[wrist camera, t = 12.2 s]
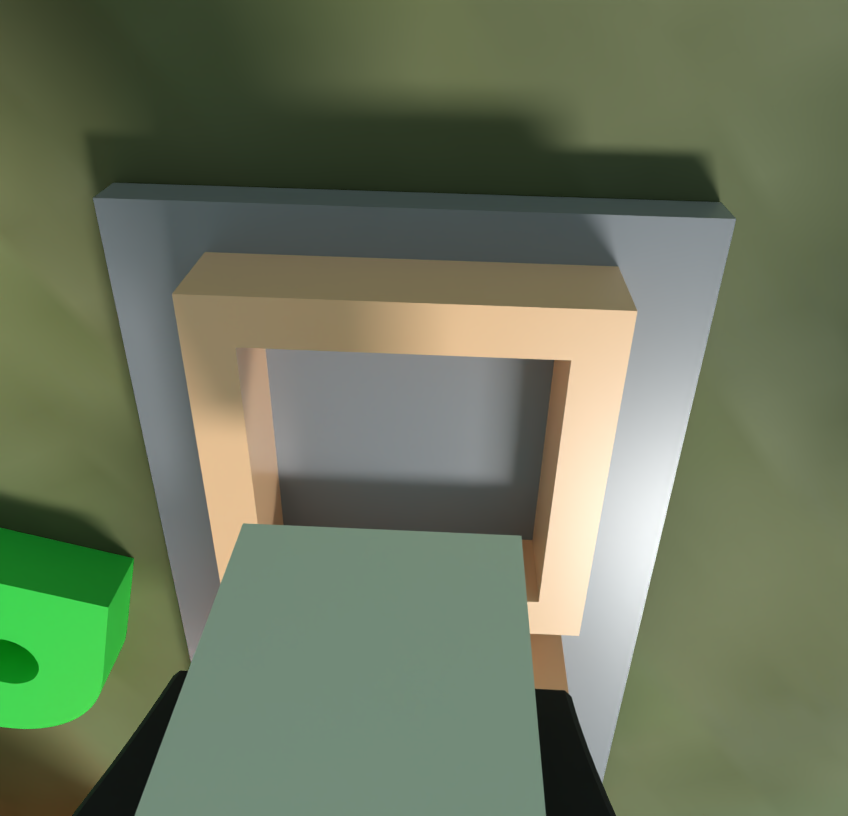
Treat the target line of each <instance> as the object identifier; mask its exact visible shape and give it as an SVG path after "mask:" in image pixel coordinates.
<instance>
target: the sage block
mask: <svg viewBox="0 0 848 816" xmlns="http://www.w3.org/2000/svg"><path fill="white" fill-rule="evenodd" d="M135 816H546V811H545V800H544V788H543V777H542V765H541V754H540V743H539V731H538V720H537V708H536V697H535V685H534V674H533V663H532V651H531V640H530V628H529V617H528V605H527V594H526V583H525V571H524V560H523V548H522V537H521V536H517V535H495V534H472V533H450V532H427V531H404V530H382V529H359V528H337V527H314V526H291V525H269V524H246V523H243V525H242V527H241V530H240V533H239V535H238V538H237V541H236V543H235V546H234V549H233V552H232V554H231V557H230V560H229V562H228V565H227V568H226V570H225V573H224V576H223V579H222V581H221V584H220V587H219V589H218V592H217V595H216V597H215V600H214V603H213V605H212V608H211V611H210V614H209V616H208V619H207V622H206V624H205V627H204V630H203V632H202V635H201V638H200V641H199V643H198V646H197V649H196V651H195V654H194V657H193V659H192V662H191V665H190V668H189V670H188V673H187V676H186V678H185V681H184V684H183V686H182V689H181V692H180V694H179V697H178V700H177V703H176V705H175V708H174V711H173V713H172V716H171V719H170V721H169V724H168V727H167V730H166V732H165V735H164V738H163V740H162V743H161V746H160V748H159V751H158V754H157V757H156V759H155V762H154V765H153V767H152V770H151V773H150V775H149V778H148V781H147V783H146V786H145V789H144V792H143V794H142V797H141V800H140V802H139V805H138V808H137V810H136V813H135Z"/></svg>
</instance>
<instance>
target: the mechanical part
mask: <svg viewBox="0 0 848 816" xmlns="http://www.w3.org/2000/svg"><path fill="white" fill-rule="evenodd" d="M133 564H134V558H130V557H126V556H122V555H117V554H113V553H109V552H104V551H100V550H96V549H91V548H87V547H83V546H78V545H74V544H69V543H65V542H61V541H56V540H52V539H48V538H43V537H39V536H35V535H30V534H26V533H22V532H17V531H13V530H9V529H4V528H0V727H6V728H17V729H37V728H47V727H52V726H57V725H61V724H64V723H67V722H69V721H72V720H74V719H76V718H78V717H80V716H81V715H83V714H84V713H85V712H87V711H88V710H89V709H90V708H91V707H92V706H93V704H94V703H95V702H96V700H97V698H98V697H99V695H100V692H101V690H102V688H103V686H104V684H105V682H106V680H107V678H108V676H109V673H110V671H111V669H112V667H113V665H114V663H115V661H116V659H117V657H118V654H119V652H120V650H121V648H122V646H123V644H124V641H125V638H126V632H127V623H128V614H129V604H130V594H131V584H132V574H133Z"/></svg>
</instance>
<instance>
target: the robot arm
mask: <svg viewBox="0 0 848 816" xmlns="http://www.w3.org/2000/svg"><path fill="white" fill-rule="evenodd" d="M187 673H188V671H179V672H178V673H177V674H175V675H174V676H173V677H172V679H171V680H170V682H169V683H168V685H167V686H166V688H165V689H164V691H163V692H162V694H161V695H160V697H159V698H158V700H157V701H156V702H155V704H154V705H153V707H152V708H151V710H150V711H149V713H148V714H147V715H146V717H145V718H144V720H143V721H142V723H141V724H140V725H139V727H138V728H137V730H136V731H135V732H134V734H133V735H132V737H131V738H130V739H129V741H128V742H127V744H126V745H125V746H124V748H123V749H122V750H121V752H120V753H119V754H118V756H117V757H116V759H115V760H114V761H113V763H112V764H111V765H110V767H109V768H108V769H107V771H106V772H105V773H104V775H103V776H102V777H101V778H100V780H99V781H98V782H97V784H96V785H95V786H94V788H93V789H92V790H91V791H90V793H89V794H88V795H87V797H86V798H85V799H84V800H83V802H82V803H81V804H80V806H79V807H78V808H77V810H76V811H75V812H74V813H73V815H72V816H135V813H136V810H137V808H138V805H139V802H140V800H141V797H142V794H143V792H144V789H145V786H146V783H147V781H148V778H149V775H150V773H151V770H152V767H153V765H154V762H155V759H156V757H157V754H158V751H159V748H160V746H161V743H162V740H163V738H164V735H165V732H166V730H167V727H168V724H169V721H170V719H171V716H172V713H173V711H174V708H175V705H176V703H177V700H178V697H179V694H180V692H181V689H182V686H183V684H184V681H185V678H186V676H187ZM535 697H536V708H537V720H538V731H539V743H540V754H541V765H542V777H543V788H544V800H545V811H546V816H616V815H615V812H614V810H613V808H612V806H611V803H610V801H609V799H608V796H607V794H606V791H605V789H604V787H603V784H602V782H601V779H600V777H599V774H598V772H597V769H596V767H595V764H594V762H593V759H592V756H591V754H590V751H589V748H588V746H587V743H586V740H585V737H584V735H583V732H582V729H581V726H580V723H579V720H578V717H577V714H576V710H575V707H574V703H573V700H572V696H570V695H569V694H568V693H567V692H566V691H565V690H550V689H535Z"/></svg>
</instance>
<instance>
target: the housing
mask: <svg viewBox="0 0 848 816" xmlns="http://www.w3.org/2000/svg"><path fill="white" fill-rule="evenodd" d="M93 201H94V205H95V210H96V215H97V220H98V224H99V229H100V234H101V239H102V243H103V248H104V253H105V258H106V262H107V267H108V272H109V276H110V281H111V286H112V291H113V295H114V300H115V305H116V310H117V314H118V319H119V324H120V329H121V333H122V338H123V343H124V348H125V352H126V357H127V362H128V366H129V371H130V376H131V381H132V385H133V390H134V395H135V400H136V404H137V409H138V414H139V419H140V423H141V428H142V433H143V437H144V442H145V447H146V452H147V456H148V461H149V466H150V471H151V475H152V480H153V485H154V490H155V494H156V499H157V504H158V508H159V513H160V518H161V523H162V527H163V532H164V537H165V542H166V546H167V551H168V556H169V561H170V565H171V570H172V575H173V579H174V584H175V589H176V594H177V598H178V603H179V608H180V613H181V617H182V622H183V627H184V632H185V636H186V641H187V646H188V650H189V655H190V660H191V662H192V659H193V657H194V654H195V651H196V649H197V646H198V643H199V641H200V638H201V635H202V632H203V630H204V627H205V624H206V622H207V619H208V616H209V614H210V611H211V608H212V605H213V603H214V600H215V597H216V595H217V592H218V589H219V587H220V584H221V581H222V579H223V576H224V573H225V570H226V568H227V565H228V562H229V560H230V557H231V554H232V552H233V549H234V546H235V543H236V541H237V538H238V535H239V533H240V530H241V527H242V525H243V523H246V524H269V525H291V526H314V527H337V528H359V529H382V530H404V531H427V532H450V533H472V534H495V535H517V536H521V537H522V548H523V560H524V571H525V583H526V594H527V605H528V617H529V628H530V640H531V651H532V663H533V674H534V685H535V689H550V690H565V691H566V692H567V693H568V694H569V695H570V696H572V700H573V703H574V707H575V710H576V714H577V717H578V720H579V723H580V726H581V729H582V732H583V735H584V737H585V740H586V743H587V746H588V748H589V751H590V754H591V756H592V759H593V762H594V764H595V767H596V769H597V772H598V774H599V777H600V779H601V782H603V778H604V773H605V769H606V765H607V761H608V757H609V752H610V748H611V744H612V740H613V736H614V731H615V727H616V723H617V719H618V714H619V710H620V706H621V702H622V698H623V693H624V689H625V685H626V681H627V677H628V672H629V668H630V664H631V660H632V656H633V651H634V647H635V643H636V639H637V634H638V630H639V626H640V622H641V618H642V613H643V609H644V605H645V601H646V597H647V592H648V588H649V584H650V580H651V575H652V571H653V567H654V563H655V559H656V554H657V550H658V546H659V542H660V538H661V533H662V529H663V525H664V521H665V516H666V512H667V508H668V504H669V500H670V495H671V491H672V487H673V483H674V479H675V474H676V470H677V466H678V462H679V458H680V453H681V449H682V445H683V441H684V436H685V432H686V428H687V424H688V420H689V415H690V411H691V407H692V403H693V399H694V394H695V390H696V386H697V382H698V377H699V373H700V369H701V365H702V361H703V356H704V352H705V348H706V344H707V340H708V335H709V331H710V327H711V323H712V318H713V314H714V310H715V306H716V302H717V297H718V293H719V289H720V285H721V281H722V276H723V272H724V268H725V264H726V260H727V255H728V251H729V247H730V243H731V238H732V234H733V230H734V226H735V222H736V218H735V217H734V216H733V215H732V214H731V213H730V212H729V210H728V209H727V208H726V207H725V206H724V205H723V204H722V203H721V202H699V201H668V200H637V199H606V198H575V197H544V196H512V195H481V194H450V193H419V192H388V191H357V190H326V189H294V188H263V187H232V186H201V185H170V184H139V183H112V184H111V185H110V186H108V187H107V188H106V189H104V190H103V191H102V192H100V193H99V194H98V195H96V196H95V197H93Z"/></svg>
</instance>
